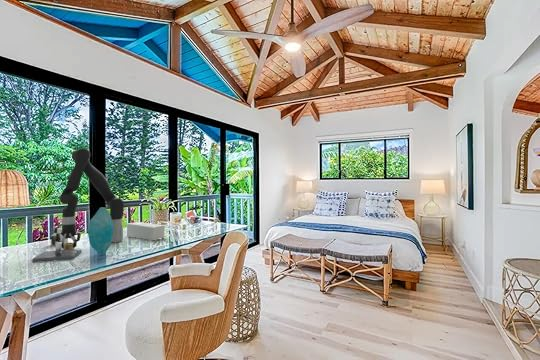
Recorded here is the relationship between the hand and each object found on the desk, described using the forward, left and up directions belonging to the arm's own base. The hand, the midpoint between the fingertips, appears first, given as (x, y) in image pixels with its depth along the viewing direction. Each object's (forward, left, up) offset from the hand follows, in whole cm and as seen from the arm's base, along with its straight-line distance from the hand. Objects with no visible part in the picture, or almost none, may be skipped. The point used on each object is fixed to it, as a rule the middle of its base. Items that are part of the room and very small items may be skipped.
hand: (68, 247), depth 189 cm
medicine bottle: (+11, -18, -1) cm, 21 cm away
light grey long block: (-45, -27, -2) cm, 53 cm away
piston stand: (0, +18, -1) cm, 18 cm away
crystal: (-23, +19, -1) cm, 30 cm away
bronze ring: (0, 0, -1) cm, 1 cm away
